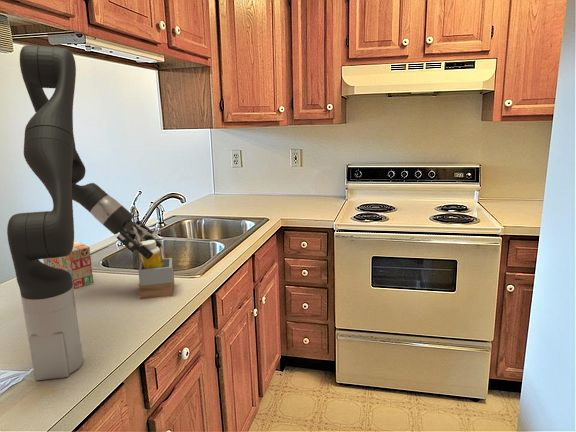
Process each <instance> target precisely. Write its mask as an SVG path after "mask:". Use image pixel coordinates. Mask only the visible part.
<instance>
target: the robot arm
mask: <svg viewBox="0 0 576 432" xmlns="http://www.w3.org/2000/svg"><path fill="white" fill-rule="evenodd" d="M19 52H20V53H19V67H20V68H19V69H20V72H21V77H22V79H23V82H24V85H25V88H26V90H27V94H28V96H29V99H30V102H31V104H32V107H33V109H34V112H35V113H34V114H33V116H31V117H30V119H29V120H28V122H27V124H26V126H25V129H24V140H23V157H24V159H25V160H24V161H25V163H26V164H27V165H28V167H29V169H31V171H32V172H33V174H34V175H35V176H36V177H37V178H38V179H39V181H41V183H42V184H43V186H44V187H45V189H46V190H47V191H48V193H49V195H50V197H51V199H52V205H53V207H52V209H51V211H50V210H48V211H47V210H46V211H35V212H34V211H31V212H21V213H15V214H12V216H11V217H10V218H9V219H8V223H7V228H6V229H7V230H6V235H7V242H8V246H9V252H10V255H11V260H12V264H13V267H14V272H15V276H16V277H15V278H16V282H17V284H18V287H19V292H20V298H21V304H22V309H23V310H22V311H23V315H24V321H25V328H26V333H27V340H28V344H29V351H30V356H31V361H32V368H33V373H34V379H35V381H42V380H43V381H44V380H52V379H54V380H55V379H60V378H68V377H69V376H70V375H71V374H72V373H74V372H76V370H78V369H80V367H82V365H83V363H84V355H83V354H84V353H83V348H82V341H81V335H80V328H79V326H80V325H79V320H78V313H77V306H76V301H75V299H76V298H75V291H74V290H75V289H73V282H72V277H71V274H70V273H69V272H68V271H66V270H62V269H58V268H54V267H50V266H48V265H46V264H44V262H42V261H40V260H43V259H47V258H57V257H64V256H68V255H69V254H70V253H71V252H72V249H73V245H74V241H75V222H74V205H73V201H74V202H76V203H78V204H79V205H81V206H82V207H83V208H84V209H85V210H86V211H88V213H90V214H91V215H92V217H94V218H95V219H96V221H98V222H99V223H100V224H101V225H102V226H103V227H105V228H106V229H107V230H108V231H110V233H112V234H113V235H117V236H116V239H117V240H118V241H119V243H121V244H123V246H125V247H126V248H127V249H128V250H129V251H130V252H131V253H133V252H138V253H139V254H140V255H141V254H142V255H143V256H144V257H145V258H146V259H149V258H150V257H151V256H152V255H153V253H152V252H151V251H150V250H149V249H148V248H146V247H145V246H144V245H143V244H142V241H143V242H144V241H148V240H155V241H156V246H157V247H159V249H160V248H161V247H162V246H163V244H162V243H161V242H160V241H158V240H157V239H156V238H155V237H154V235H153V234H154V231H153V230H152V229H151V228H149V227H148V226H146V224H144V223H143V221H141V220H139V219H138V220H136V221H135V222H134V221H133V219H134V214H133V213H132V212H130V211H129V210H128V209H127V208H125V206H123V205H122V204H121V203H120V202H119V201H118V200H116V198H114V197H112V196H111V195H110V194H108V193H107V192H106V191H105V190H104V189H102V188H101V187H100V186H99V185H98V184H96V183H95V182H91V183H87V184H83V185H79V182H80V181H82V180H83V179H84V178H85V177H86V176H85V175H86V170H87V169H86V166H85V164H84V162H83V161H82V158H81V157H80V155H79V153H78V151H77V149H76V142H75V135H74V116H73V115H74V114H73V113H74V112H73V111H74V98H75V91H76V90H75V87H76V75H77V68H76V59H75V57H74V54H73V53H72V51H71V50H69V49H68V48H65V47H64V48H63V47H59V46H47V45H33V44H32V45H31V44H30V45H23V46H22V47H21V50H20V51H19ZM44 89H54V91H53V93H52V95H51V97H50V98H48V97H47V95H46V93H45V90H44Z"/></svg>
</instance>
